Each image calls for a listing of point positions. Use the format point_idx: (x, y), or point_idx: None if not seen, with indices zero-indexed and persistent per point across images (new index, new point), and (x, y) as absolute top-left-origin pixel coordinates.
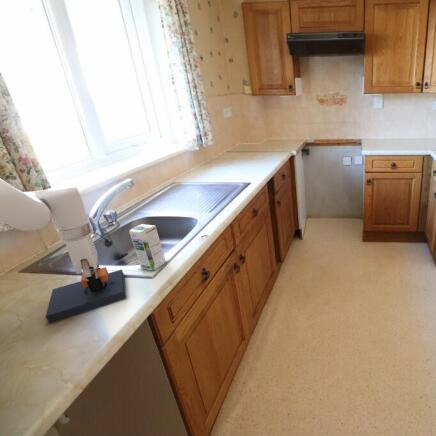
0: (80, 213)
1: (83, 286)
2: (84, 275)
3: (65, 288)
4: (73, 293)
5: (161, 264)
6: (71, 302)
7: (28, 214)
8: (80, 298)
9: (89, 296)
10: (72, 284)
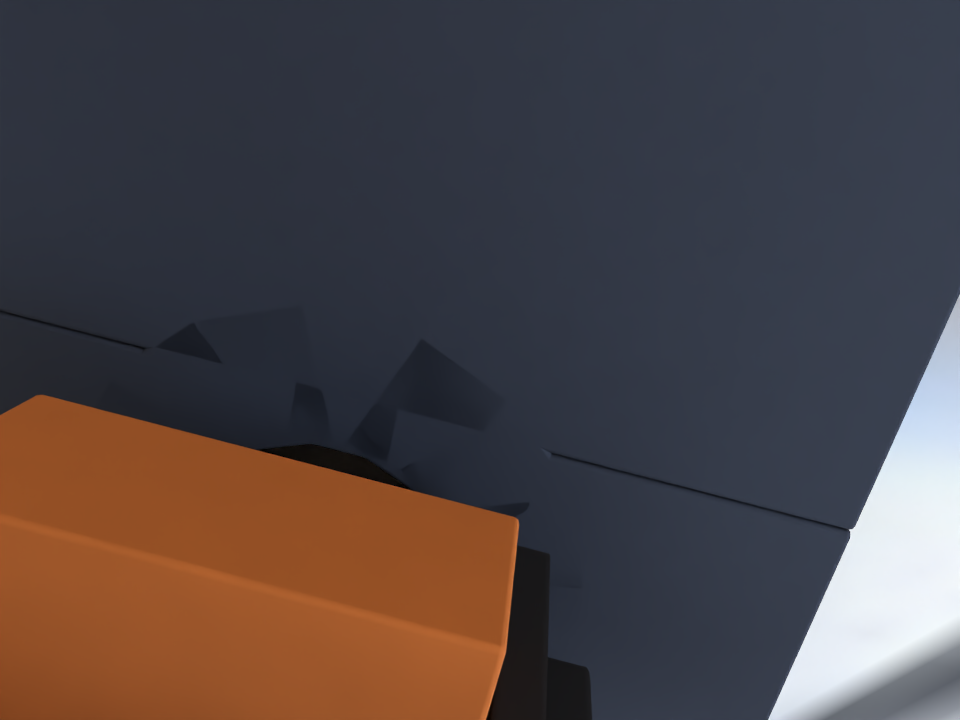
0: None
1: (13, 416)
2: (264, 666)
3: (903, 13)
4: (458, 128)
5: None
6: (72, 22)
7: None
8: (116, 204)
9: (77, 351)
10: (950, 191)
